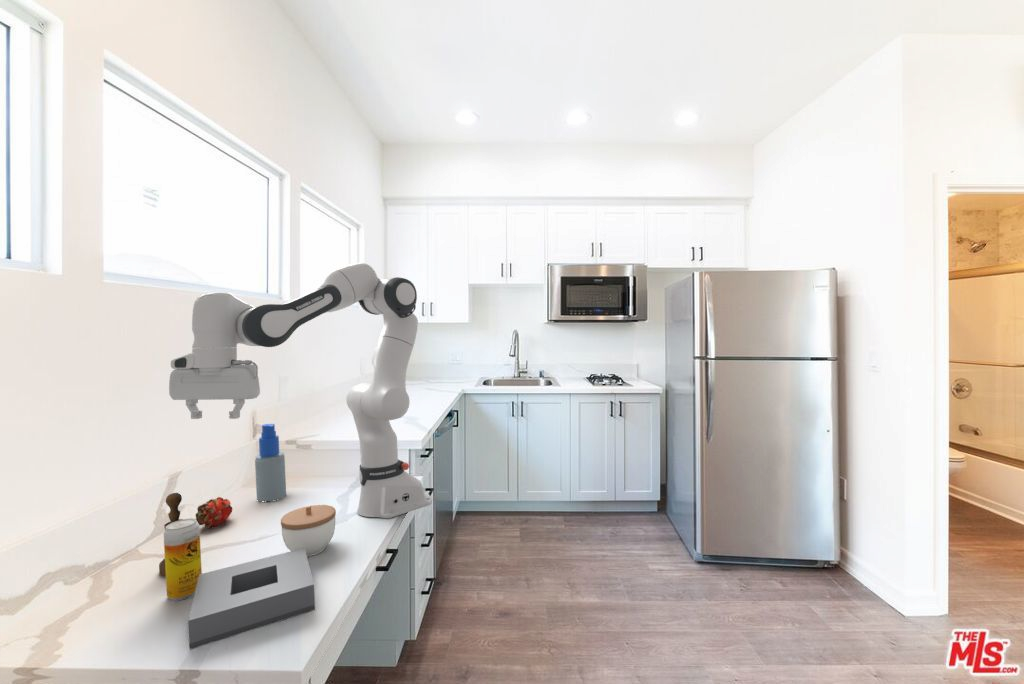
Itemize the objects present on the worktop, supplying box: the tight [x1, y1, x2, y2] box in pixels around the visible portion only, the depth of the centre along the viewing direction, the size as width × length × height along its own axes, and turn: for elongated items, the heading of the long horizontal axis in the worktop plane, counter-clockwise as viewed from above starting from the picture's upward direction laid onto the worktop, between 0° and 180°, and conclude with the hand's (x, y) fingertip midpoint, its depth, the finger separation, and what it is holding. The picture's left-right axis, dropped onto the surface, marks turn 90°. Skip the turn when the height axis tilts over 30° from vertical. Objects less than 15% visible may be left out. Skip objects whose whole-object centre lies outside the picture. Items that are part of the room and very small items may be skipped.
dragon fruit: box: [195, 496, 233, 529], centre depth 130 cm, size 8×8×12 cm
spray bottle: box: [254, 423, 287, 503], centre depth 152 cm, size 9×9×25 cm
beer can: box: [163, 518, 203, 602], centre depth 94 cm, size 6×6×15 cm
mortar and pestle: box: [158, 492, 184, 577], centre depth 105 cm, size 7×6×18 cm
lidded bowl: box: [280, 504, 337, 558], centre depth 112 cm, size 13×13×11 cm
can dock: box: [187, 548, 316, 650], centre depth 90 cm, size 20×18×5 cm
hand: (215, 418), depth 105 cm, fingers open, 8 cm apart
